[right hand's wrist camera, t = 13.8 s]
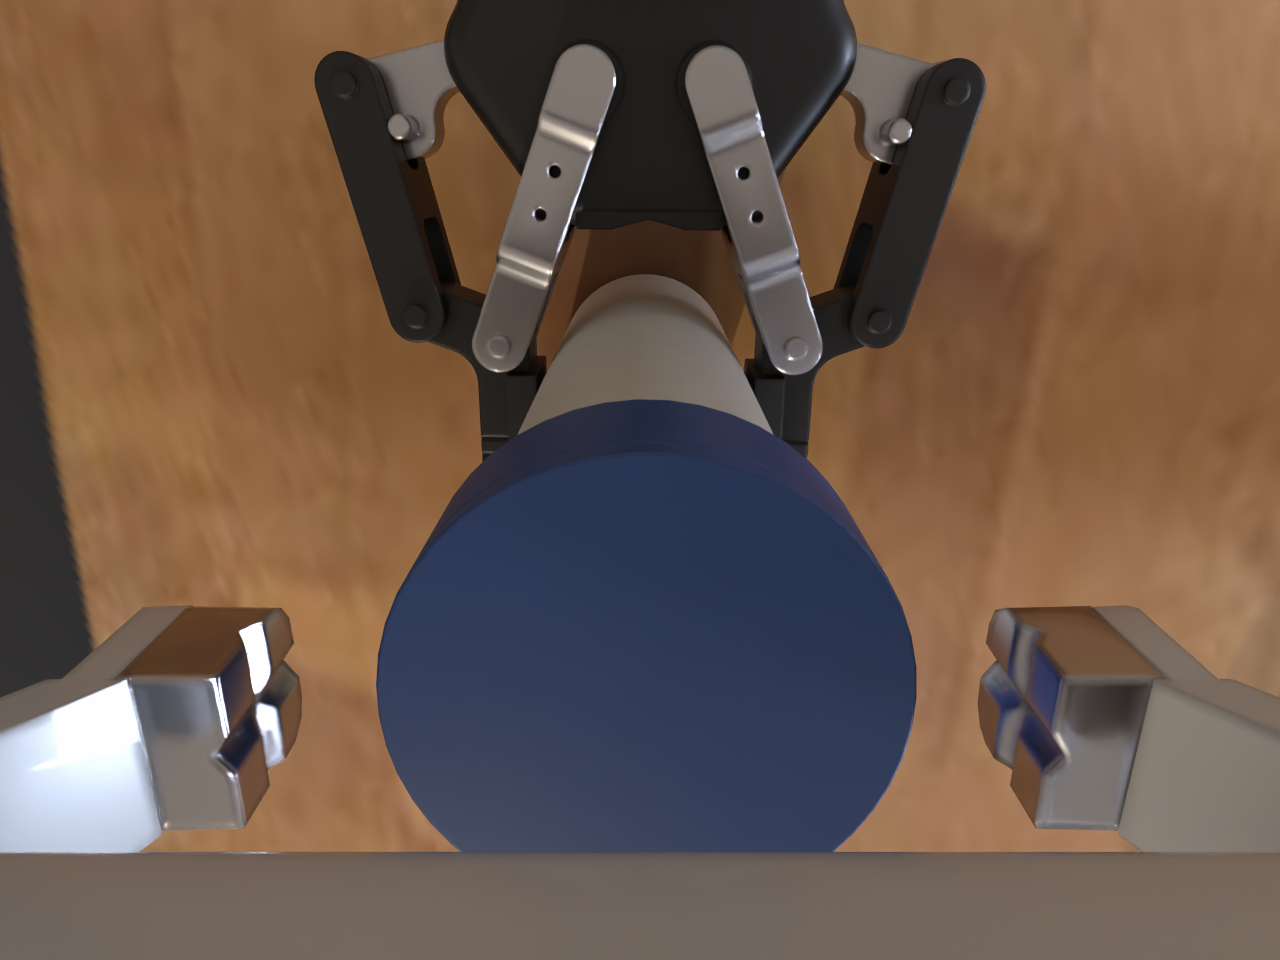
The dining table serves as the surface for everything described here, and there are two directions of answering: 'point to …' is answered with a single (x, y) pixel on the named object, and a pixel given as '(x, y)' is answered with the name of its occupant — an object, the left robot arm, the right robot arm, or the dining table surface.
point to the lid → (646, 646)
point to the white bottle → (644, 353)
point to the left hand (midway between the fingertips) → (645, 508)
